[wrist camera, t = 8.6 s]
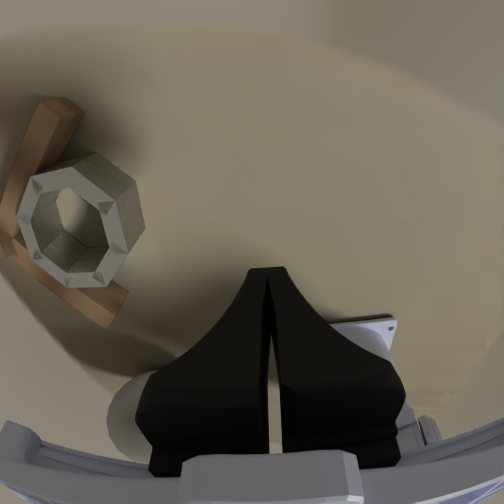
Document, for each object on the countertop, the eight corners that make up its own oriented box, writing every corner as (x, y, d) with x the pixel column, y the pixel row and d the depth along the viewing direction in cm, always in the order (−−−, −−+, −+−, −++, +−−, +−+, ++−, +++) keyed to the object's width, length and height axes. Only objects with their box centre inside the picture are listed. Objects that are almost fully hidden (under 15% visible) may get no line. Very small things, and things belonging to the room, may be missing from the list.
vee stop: (133, 306, 25) (121, 330, 22) (52, 305, 25) (37, 326, 23) (81, 92, 17) (57, 95, 14) (-5, 125, 17) (-30, 134, 14)
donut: (131, 385, 30) (107, 465, 22) (116, 364, 29) (86, 447, 20) (220, 380, 29) (211, 473, 20) (209, 357, 28) (196, 456, 19)
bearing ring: (152, 258, 23) (138, 286, 20) (63, 263, 23) (43, 288, 20) (129, 146, 19) (106, 159, 16) (35, 167, 19) (6, 183, 16)
